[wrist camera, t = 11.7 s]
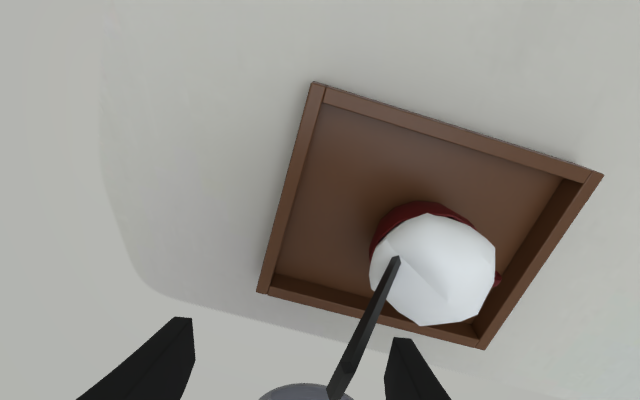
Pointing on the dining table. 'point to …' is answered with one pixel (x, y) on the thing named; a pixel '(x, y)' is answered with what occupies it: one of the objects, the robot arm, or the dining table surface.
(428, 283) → the cocoa
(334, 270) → the tray
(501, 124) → the dining table surface
